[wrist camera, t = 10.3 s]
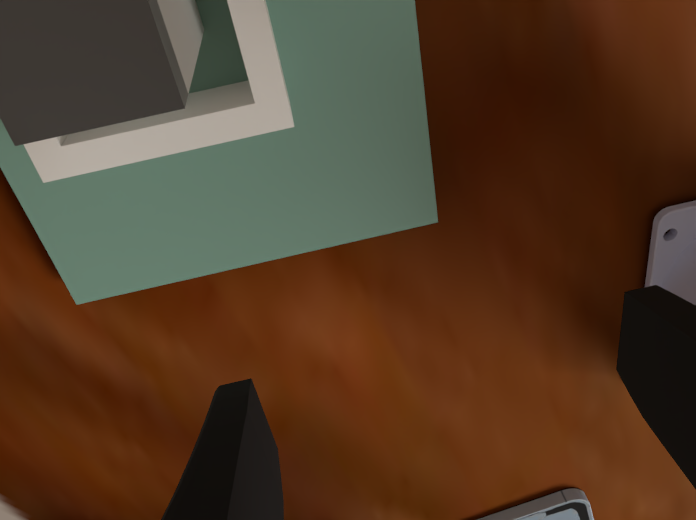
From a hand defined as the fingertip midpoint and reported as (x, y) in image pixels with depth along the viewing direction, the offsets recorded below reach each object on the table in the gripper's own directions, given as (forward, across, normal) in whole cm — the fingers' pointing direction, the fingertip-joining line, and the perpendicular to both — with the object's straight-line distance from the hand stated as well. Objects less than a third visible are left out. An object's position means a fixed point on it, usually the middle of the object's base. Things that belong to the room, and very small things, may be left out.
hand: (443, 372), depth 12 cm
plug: (+8, +5, -7) cm, 12 cm away
